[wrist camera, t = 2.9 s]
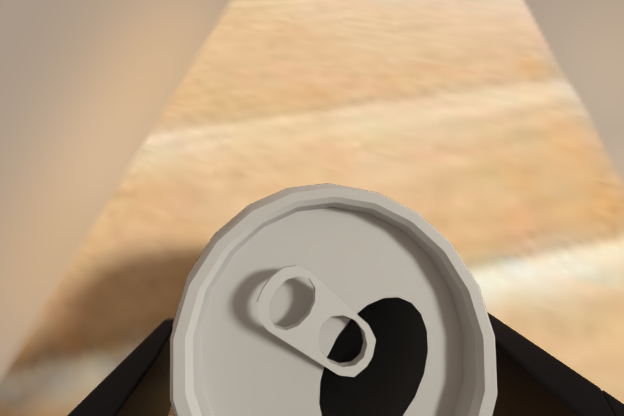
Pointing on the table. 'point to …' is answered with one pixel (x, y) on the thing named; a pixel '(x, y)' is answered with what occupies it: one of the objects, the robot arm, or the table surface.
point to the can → (331, 315)
